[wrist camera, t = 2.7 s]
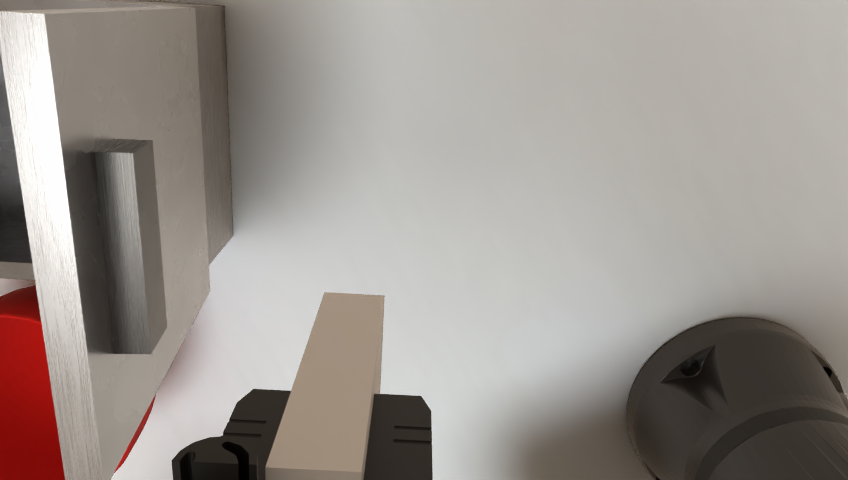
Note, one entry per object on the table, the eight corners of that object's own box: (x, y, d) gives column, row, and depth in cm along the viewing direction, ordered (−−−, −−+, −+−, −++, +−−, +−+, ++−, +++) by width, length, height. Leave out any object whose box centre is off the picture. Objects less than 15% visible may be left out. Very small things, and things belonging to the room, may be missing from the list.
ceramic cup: (-73, 298, 47) (-197, 372, 37) (139, 226, 45) (64, 284, 36) (21, 441, 51) (-70, 539, 42) (219, 380, 49) (170, 469, 40)
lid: (169, 6, 31) (220, 9, 32) (188, 290, 37) (232, 291, 37) (-6, 10, 17) (93, 16, 17) (66, 490, 22) (142, 489, 22)
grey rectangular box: (224, 5, 40) (170, 6, 32) (233, 235, 45) (189, 288, 37) (-80, -14, 40) (-216, -20, 31) (-37, 219, 45) (-144, 269, 36)
